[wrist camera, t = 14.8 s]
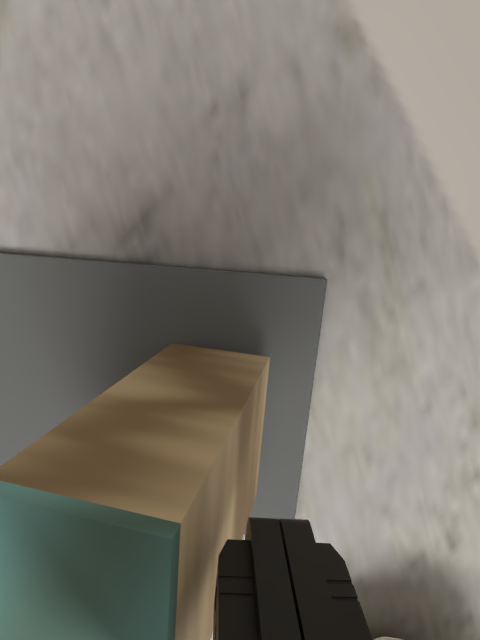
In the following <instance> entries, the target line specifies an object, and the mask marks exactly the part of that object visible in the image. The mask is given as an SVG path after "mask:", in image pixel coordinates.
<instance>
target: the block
mask: <svg viewBox="0 0 480 640" xmlns="http://www.w3.org/2000/svg"><path fill="white" fill-rule="evenodd" d="M269 363H270V357H266V356H259V355H252V354H245V353H238V352H232V351H225V350H218V349H211V348H204V347H197V346H191V345H184V344H177V343H172V344H170V345H169V346H167V347H166V348H165V349H163V350H162V351H160V352H159V353H158V354H156V355H155V356H153V357H152V358H151V359H149V360H148V361H147V362H145V363H144V364H142V365H141V366H140V367H138V368H137V369H135V370H134V371H133V372H131V373H130V374H128V375H127V376H126V377H124V378H123V379H121V380H120V381H119V382H117V383H116V384H114V385H113V386H112V387H110V388H109V389H107V390H106V391H105V392H103V393H102V394H101V395H99V396H98V397H96V398H95V399H94V400H92V401H91V402H89V403H88V404H87V405H85V406H84V407H82V408H81V409H80V410H78V411H77V412H75V413H74V414H73V415H71V416H70V417H68V418H67V419H66V420H64V421H63V422H61V423H60V424H59V425H57V426H56V427H55V428H53V429H52V430H50V431H49V432H48V433H46V434H45V435H43V436H42V437H41V438H39V439H38V440H36V441H35V442H34V443H32V444H31V445H29V446H28V447H27V448H25V449H24V450H22V451H21V452H20V453H18V454H17V455H16V456H14V457H13V458H11V459H10V460H9V461H7V462H6V463H4V464H3V465H2V466H0V640H210V638H211V635H212V632H213V614H214V598H215V587H216V577H217V567H218V556H219V554H220V552H221V550H222V548H223V546H224V544H225V543H226V541H227V539H232V540H242V538H243V535H244V531H245V528H246V525H247V520H248V517H249V516H250V513H251V510H252V506H253V503H254V500H255V497H256V494H257V486H258V476H259V465H260V455H261V445H262V435H263V424H264V414H265V404H266V394H267V383H268V373H269Z"/></svg>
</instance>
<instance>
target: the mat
mask: <svg viewBox="0 0 480 640" xmlns="http://www.w3.org/2000/svg"><path fill="white" fill-rule="evenodd" d="M326 284H327V279H325V278H315V277H302V276H290V275H277V274H264V273H252V272H239V271H227V270H214V269H202V268H189V267H176V266H164V265H151V264H139V263H126V262H113V261H101V260H88V259H76V258H63V257H51V256H38V255H25V254H13V253H0V466H2V465H3V464H4V463H6V462H7V461H9V460H10V459H11V458H13V457H14V456H16V455H17V454H18V453H20V452H21V451H22V450H24V449H25V448H27V447H28V446H29V445H31V444H32V443H34V442H35V441H36V440H38V439H39V438H41V437H42V436H43V435H45V434H46V433H48V432H49V431H50V430H52V429H53V428H55V427H56V426H57V425H59V424H60V423H61V422H63V421H64V420H66V419H67V418H68V417H70V416H71V415H73V414H74V413H75V412H77V411H78V410H80V409H81V408H82V407H84V406H85V405H87V404H88V403H89V402H91V401H92V400H94V399H95V398H96V397H98V396H99V395H101V394H102V393H103V392H105V391H106V390H107V389H109V388H110V387H112V386H113V385H114V384H116V383H117V382H119V381H120V380H121V379H123V378H124V377H126V376H127V375H128V374H130V373H131V372H133V371H134V370H135V369H137V368H138V367H140V366H141V365H142V364H144V363H145V362H147V361H148V360H149V359H151V358H152V357H153V356H155V355H156V354H158V353H159V352H160V351H162V350H163V349H165V348H166V347H167V346H169V345H170V344H172V343H177V344H184V345H191V346H197V347H204V348H211V349H218V350H225V351H232V352H238V353H245V354H252V355H259V356H266V357H270V363H269V373H268V383H267V394H266V404H265V414H264V424H263V435H262V445H261V455H260V465H259V476H258V486H257V494H256V497H255V500H254V503H253V506H252V510H251V513H250V516H249V517H255V518H276V519H295V513H296V505H297V498H298V491H299V483H300V476H301V468H302V461H303V454H304V446H305V439H306V432H307V424H308V417H309V409H310V402H311V395H312V387H313V380H314V373H315V365H316V358H317V350H318V343H319V336H320V328H321V321H322V314H323V306H324V299H325V291H326ZM246 527H247V525H246ZM244 534H246V528H245V531H244Z"/></svg>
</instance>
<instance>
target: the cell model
mask: <svg viewBox="0 0 480 640" xmlns="http://www.w3.org/2000/svg"><path fill="white" fill-rule="evenodd" d="M374 640H403V639H398V638H393V637H379V638H376V639H374Z"/></svg>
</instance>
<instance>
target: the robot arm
mask: <svg viewBox="0 0 480 640" xmlns="http://www.w3.org/2000/svg"><path fill="white" fill-rule="evenodd" d="M213 640H372V637H371V634H370V631H369V628H368V625H367V623H366V620H365V617H364V614H363V611H362V609H361V606H360V603H359V602H358V600H357V595H356V592H355V589H354V586H353V585H352V583H351V578H350V575H349V572H348V569H347V567H346V564H345V561H344V560H343V558H342V557H341V556H340V555H339V554H338V552H337V551H336V550H335V549H334V548H333V546H332V545H331V544H328V543H316V542H315V539H314V535H313V532H312V528H311V525H310V522H309V521H308V520H300V519H276V518H255V517H248V520H247V527H246V536H245V540H232V539H227V541H226V543H225V544H224V546H223V548H222V550H221V552H220V554H219V556H218V567H217V577H216V587H215V598H214V614H213Z"/></svg>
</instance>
